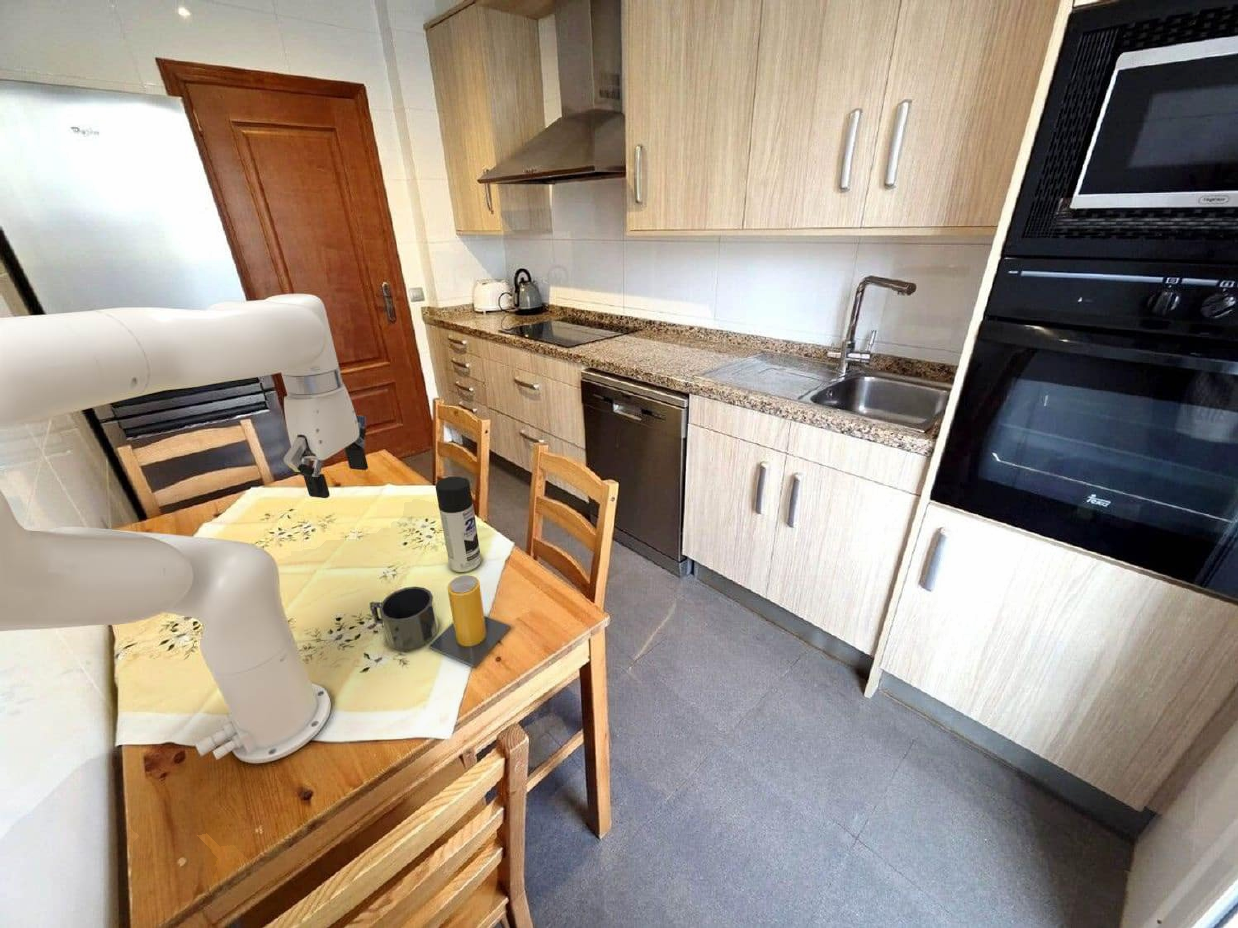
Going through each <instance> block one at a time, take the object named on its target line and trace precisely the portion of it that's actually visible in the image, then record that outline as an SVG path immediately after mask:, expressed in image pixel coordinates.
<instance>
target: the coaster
mask: <svg viewBox="0 0 1238 928" xmlns="http://www.w3.org/2000/svg"><path fill="white" fill-rule="evenodd" d="M484 619H485V626H486V636H485V638H484V640H483V641H481V642H480V643H479V644H476V645H474V646H462V645H460V644H459V643H458V642H457V640H456V634H455V629H454V623H453V622H452V623H451V624H450V625H449V626H448V627H447V628H446V629H445V630H444V631H442V633H440V635H439V636H438V637H436V638H435V640H433V641H432V642H431V643H430V644H429V645H428V648H429V649H430V650H433V651H435V652H437V653H440V654H442V655H444V656H447V657H449V658H451V659H453V660H455V661H458V662H460V663H462V664H464V665H467V666H469V667H472V668H474V669H475V668H477V667H478V666H479V664H481V662H483V660H484V659H485V658H486V657H487V656H488V654H490V652H491V651H492V650H493V649H494V648H495V646H496V645H498V643H499V642H500V641H501V640H502V639H503V638H504V637H505V635H506V634H508V632H509V631H510V630H511V625H509V624H507V623H504V622H500V621H498V620H495V619H493V618H490V617H488V616H486V615H484Z"/></svg>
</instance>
